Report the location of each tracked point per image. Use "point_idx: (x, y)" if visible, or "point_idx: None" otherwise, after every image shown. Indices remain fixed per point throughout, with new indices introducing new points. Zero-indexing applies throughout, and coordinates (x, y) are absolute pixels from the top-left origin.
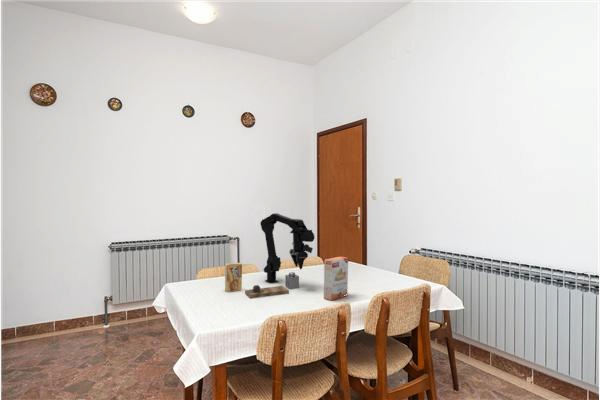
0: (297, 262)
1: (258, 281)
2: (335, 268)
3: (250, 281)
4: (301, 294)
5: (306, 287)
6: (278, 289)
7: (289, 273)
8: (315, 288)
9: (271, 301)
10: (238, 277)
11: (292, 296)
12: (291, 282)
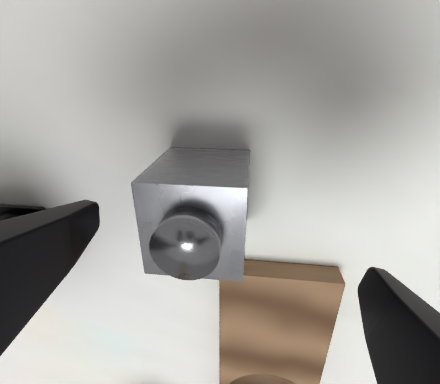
0: (42, 241)
1: None
2: None
3: None
4: (412, 212)
5: (260, 80)
6: (295, 323)
7: (188, 279)
8: (337, 10)
9: None
10: None
11: (408, 276)
12: (245, 234)
